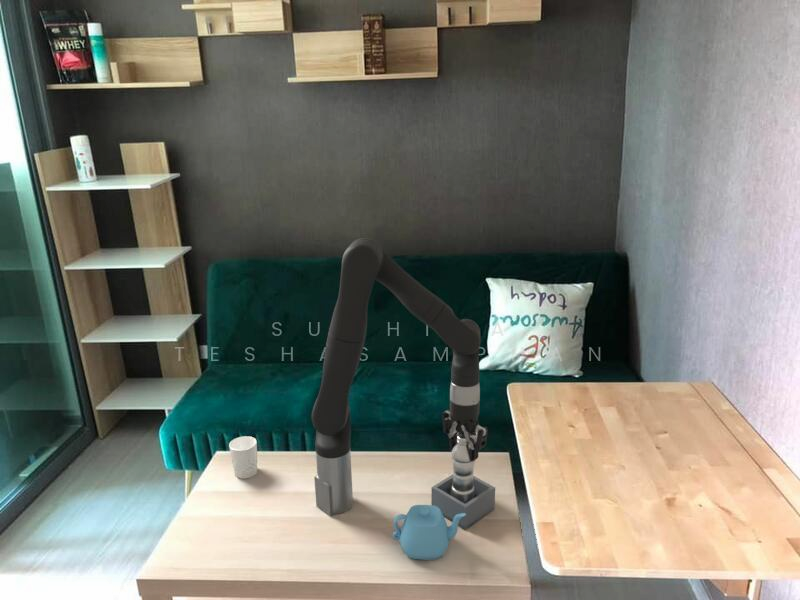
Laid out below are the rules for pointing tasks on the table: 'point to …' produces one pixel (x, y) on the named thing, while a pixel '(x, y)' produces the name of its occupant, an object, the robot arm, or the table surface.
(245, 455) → the white cup
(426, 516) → the teapot
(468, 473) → the plastic bottle
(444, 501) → the gray square open box
